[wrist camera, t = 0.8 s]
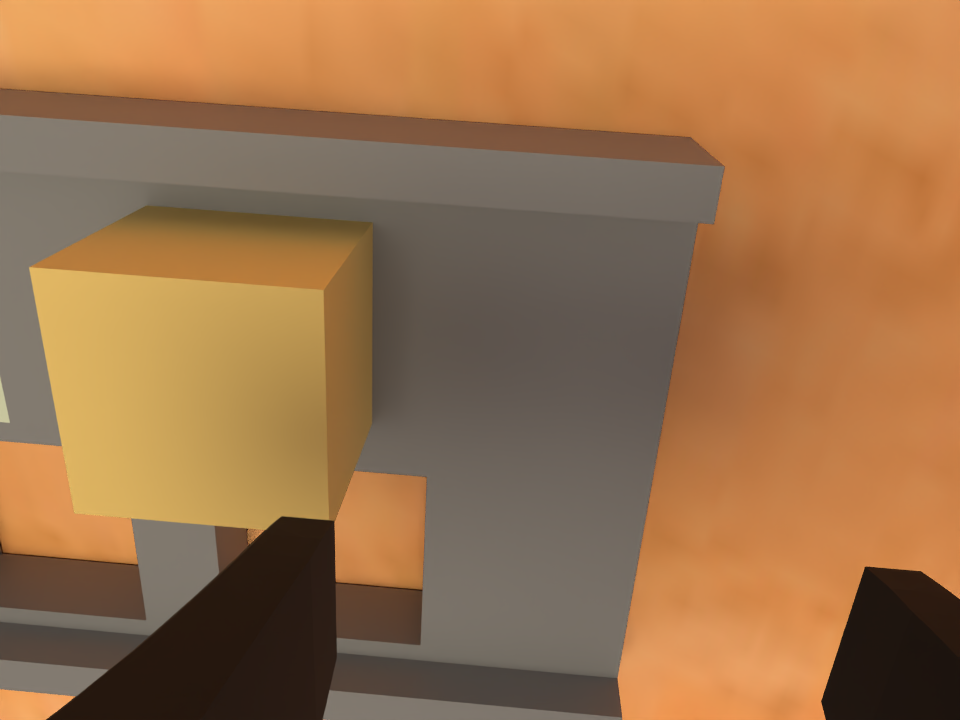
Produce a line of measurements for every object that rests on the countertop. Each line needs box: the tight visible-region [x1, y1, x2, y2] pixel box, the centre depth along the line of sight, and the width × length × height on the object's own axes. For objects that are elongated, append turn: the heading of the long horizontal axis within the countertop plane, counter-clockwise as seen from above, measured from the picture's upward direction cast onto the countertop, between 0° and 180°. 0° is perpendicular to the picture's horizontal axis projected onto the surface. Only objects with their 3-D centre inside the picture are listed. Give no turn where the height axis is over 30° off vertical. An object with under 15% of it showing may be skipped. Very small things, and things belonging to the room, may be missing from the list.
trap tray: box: [0, 89, 724, 720], centre depth 18 cm, size 20×14×3 cm
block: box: [29, 205, 373, 530], centre depth 15 cm, size 4×4×4 cm
